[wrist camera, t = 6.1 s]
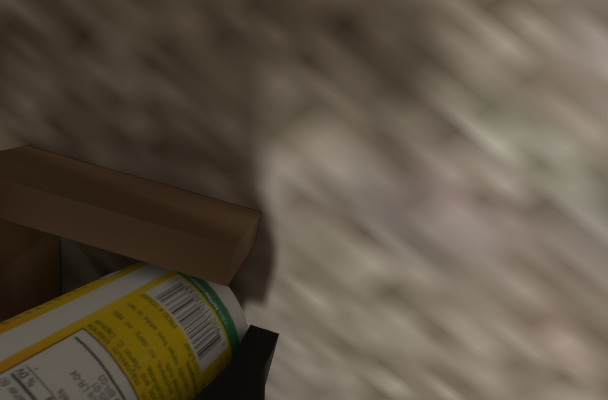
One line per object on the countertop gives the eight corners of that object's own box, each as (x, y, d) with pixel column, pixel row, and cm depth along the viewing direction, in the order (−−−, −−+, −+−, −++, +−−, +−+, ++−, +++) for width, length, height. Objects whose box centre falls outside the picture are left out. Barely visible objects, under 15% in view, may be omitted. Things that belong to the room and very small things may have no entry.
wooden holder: (218, 420, 15) (168, 537, 11) (34, 360, 15) (-72, 451, 12) (261, 212, 11) (210, 278, 8) (26, 145, 12) (-127, 176, 8)
